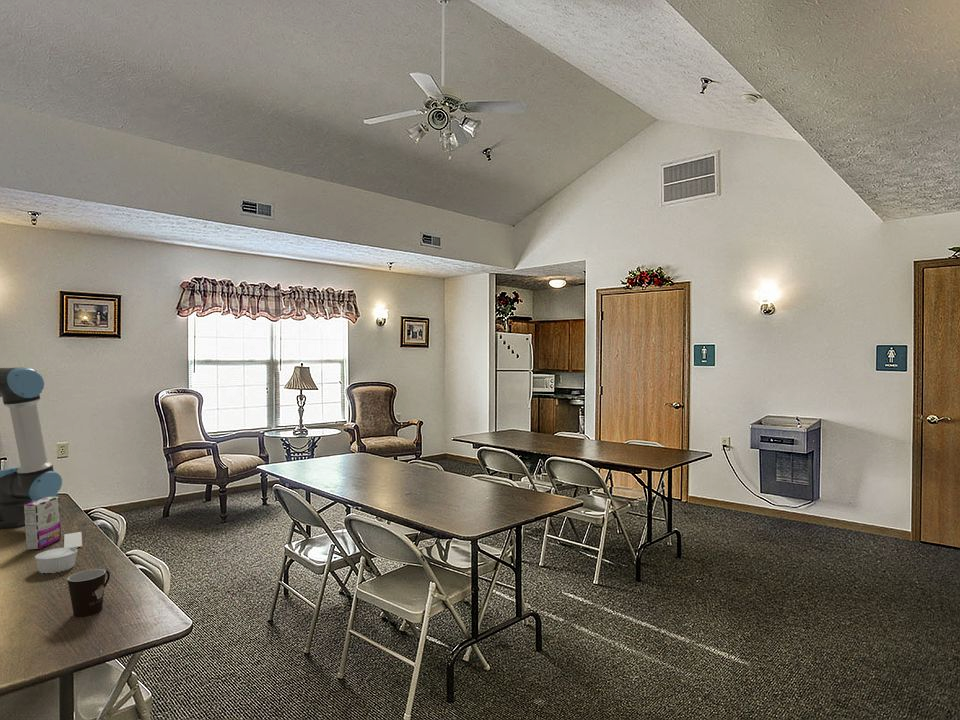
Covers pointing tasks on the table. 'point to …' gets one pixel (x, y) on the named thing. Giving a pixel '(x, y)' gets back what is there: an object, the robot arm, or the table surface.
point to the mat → (73, 540)
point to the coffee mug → (87, 591)
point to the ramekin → (56, 560)
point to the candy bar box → (42, 522)
